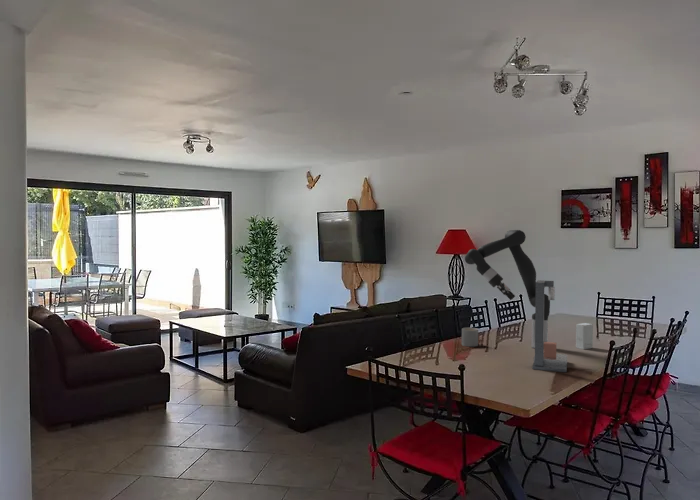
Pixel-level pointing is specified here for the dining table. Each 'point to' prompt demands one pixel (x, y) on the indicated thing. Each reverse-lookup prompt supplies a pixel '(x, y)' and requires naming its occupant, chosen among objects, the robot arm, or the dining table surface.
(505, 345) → the dining table surface
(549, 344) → the pink block
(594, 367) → the dining table surface
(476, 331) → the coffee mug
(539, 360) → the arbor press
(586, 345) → the skincare box
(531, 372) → the dining table surface
